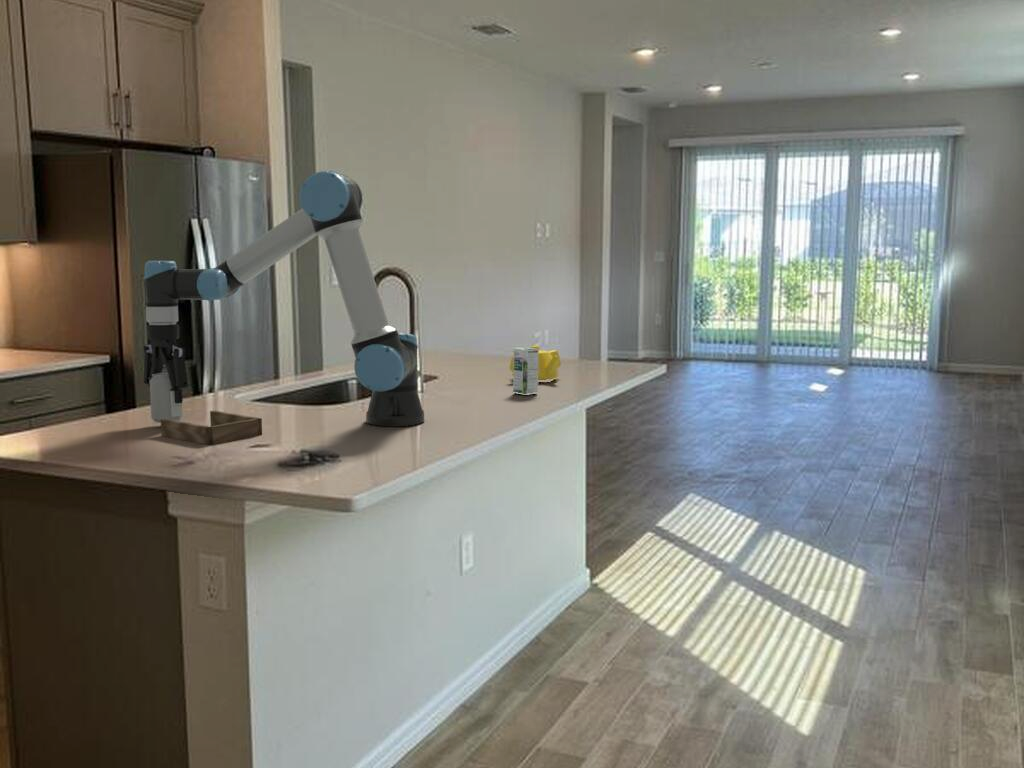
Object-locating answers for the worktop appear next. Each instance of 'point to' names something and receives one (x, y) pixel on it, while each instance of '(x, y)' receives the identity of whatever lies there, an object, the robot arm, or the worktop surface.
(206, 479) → the worktop surface
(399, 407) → the robot arm
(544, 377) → the teapot
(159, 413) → the can
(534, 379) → the syrup box
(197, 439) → the walnut box
